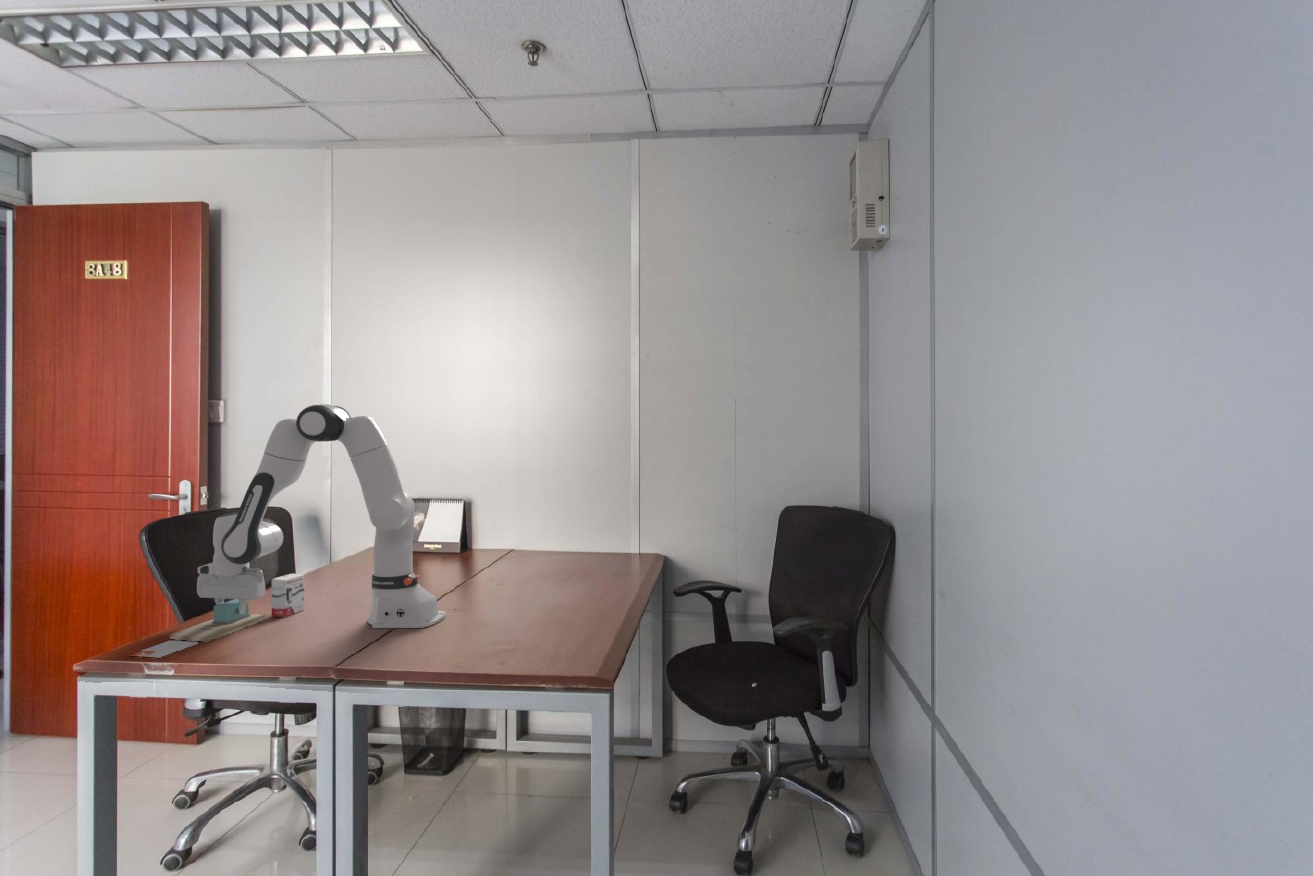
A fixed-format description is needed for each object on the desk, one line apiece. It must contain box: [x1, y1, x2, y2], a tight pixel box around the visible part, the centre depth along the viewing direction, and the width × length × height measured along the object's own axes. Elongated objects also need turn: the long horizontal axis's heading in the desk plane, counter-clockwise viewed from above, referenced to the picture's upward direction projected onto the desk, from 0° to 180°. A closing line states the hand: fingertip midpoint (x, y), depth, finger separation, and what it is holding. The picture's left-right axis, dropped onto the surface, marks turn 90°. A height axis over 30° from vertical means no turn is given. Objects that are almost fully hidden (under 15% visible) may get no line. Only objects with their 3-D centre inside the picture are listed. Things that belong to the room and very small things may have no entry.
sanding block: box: [212, 599, 251, 624], centre depth 181 cm, size 5×8×5 cm, turn 171°
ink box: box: [271, 573, 306, 618], centre depth 193 cm, size 9×5×12 cm, turn 168°
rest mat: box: [137, 639, 199, 659], centre depth 160 cm, size 9×11×1 cm
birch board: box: [169, 613, 266, 643], centre depth 177 cm, size 12×20×2 cm, turn 171°
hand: (231, 613), depth 181 cm, fingers closed on sanding block, 4 cm apart
